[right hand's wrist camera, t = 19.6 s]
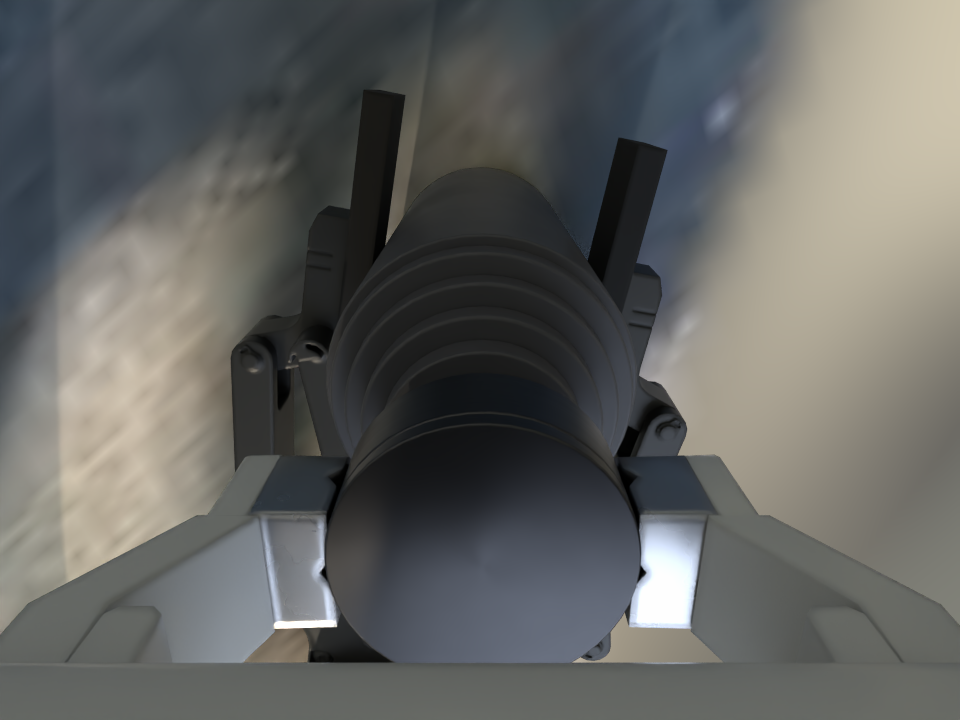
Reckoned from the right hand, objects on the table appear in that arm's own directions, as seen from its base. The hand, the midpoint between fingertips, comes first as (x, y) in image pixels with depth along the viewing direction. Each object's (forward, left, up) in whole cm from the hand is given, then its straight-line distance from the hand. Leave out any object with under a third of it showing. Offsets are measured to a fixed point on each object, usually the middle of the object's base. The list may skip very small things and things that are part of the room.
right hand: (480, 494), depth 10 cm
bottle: (0, 0, -17) cm, 17 cm away
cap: (0, 0, +2) cm, 2 cm away
